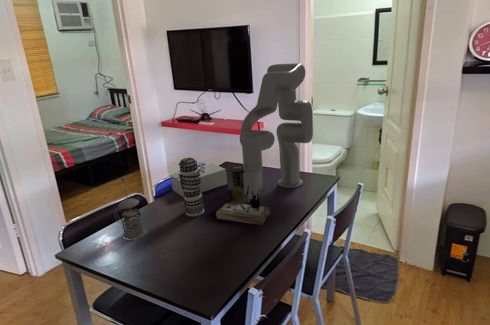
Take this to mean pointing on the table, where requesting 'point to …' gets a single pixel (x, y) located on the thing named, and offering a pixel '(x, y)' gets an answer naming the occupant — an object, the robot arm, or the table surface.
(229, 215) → the wooden dot tile board
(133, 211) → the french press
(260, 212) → the tile two
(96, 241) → the table surface
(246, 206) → the tile three
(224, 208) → the tile one
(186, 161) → the decorative candle
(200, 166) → the tissue box
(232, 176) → the coffee box
